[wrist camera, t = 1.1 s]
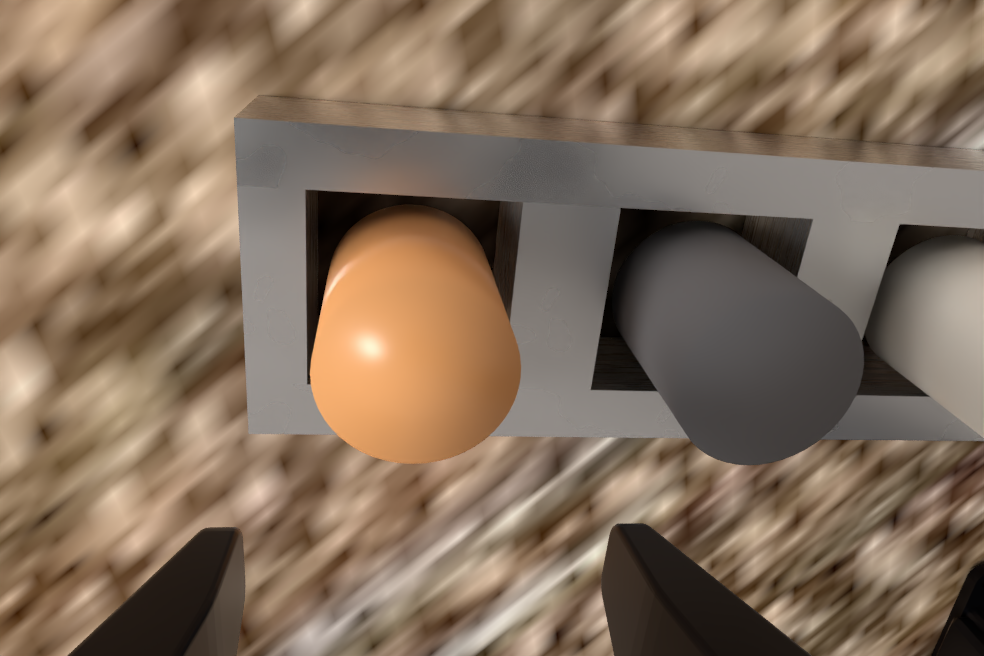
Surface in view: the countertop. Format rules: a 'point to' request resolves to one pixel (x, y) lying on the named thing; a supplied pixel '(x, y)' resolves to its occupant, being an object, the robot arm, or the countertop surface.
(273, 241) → the button strip
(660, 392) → the button charcoal
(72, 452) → the countertop surface
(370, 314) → the button orange
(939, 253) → the button ivory
